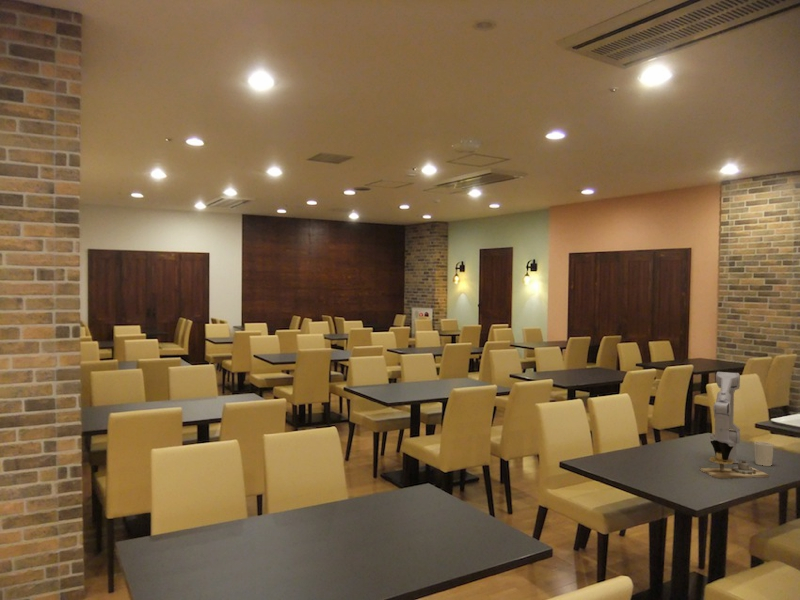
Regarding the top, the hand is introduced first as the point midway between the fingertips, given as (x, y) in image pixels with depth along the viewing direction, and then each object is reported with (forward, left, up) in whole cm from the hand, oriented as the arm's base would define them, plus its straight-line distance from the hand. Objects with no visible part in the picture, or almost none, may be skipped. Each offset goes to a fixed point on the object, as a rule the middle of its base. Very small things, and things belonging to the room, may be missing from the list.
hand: (721, 458), depth 264 cm
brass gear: (0, 0, -1) cm, 1 cm away
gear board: (0, +6, -7) cm, 9 cm away
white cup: (-13, +30, -7) cm, 34 cm away
